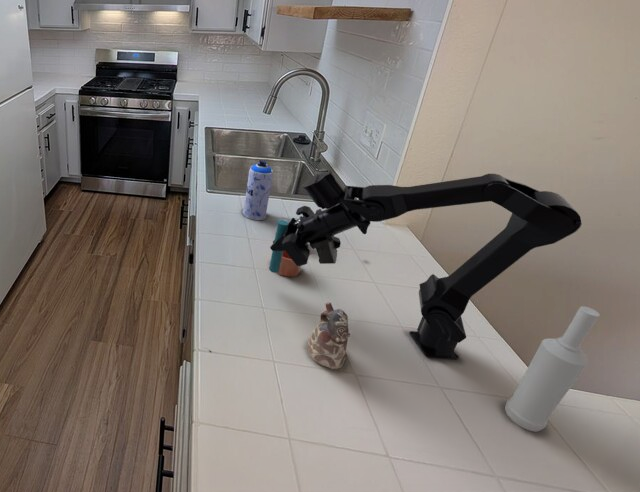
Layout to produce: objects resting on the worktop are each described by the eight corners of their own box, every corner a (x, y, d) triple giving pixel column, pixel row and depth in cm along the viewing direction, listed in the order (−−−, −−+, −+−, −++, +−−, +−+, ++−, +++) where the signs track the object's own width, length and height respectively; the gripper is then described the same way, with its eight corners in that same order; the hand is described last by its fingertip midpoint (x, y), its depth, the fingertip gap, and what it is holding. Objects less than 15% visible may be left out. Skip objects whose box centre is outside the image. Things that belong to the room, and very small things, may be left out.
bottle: (502, 398, 72) (562, 294, 62) (541, 416, 69) (610, 309, 59) (504, 420, 68) (568, 312, 58) (545, 439, 65) (620, 329, 55)
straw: (280, 272, 96) (290, 225, 91) (270, 272, 96) (279, 224, 91) (277, 266, 98) (286, 220, 93) (268, 266, 98) (276, 219, 93)
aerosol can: (238, 209, 136) (246, 157, 128) (259, 207, 137) (267, 156, 129) (249, 221, 129) (257, 166, 121) (270, 219, 130) (280, 165, 122)
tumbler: (302, 277, 103) (306, 260, 101) (275, 276, 103) (279, 259, 101) (294, 260, 109) (297, 244, 107) (268, 259, 110) (271, 243, 108)
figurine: (323, 372, 76) (336, 327, 72) (299, 344, 83) (310, 300, 78) (352, 364, 78) (367, 319, 74) (327, 337, 85) (339, 294, 80)
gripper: (349, 275, 78) (284, 295, 88) (357, 230, 92) (300, 252, 102) (315, 231, 78) (254, 256, 88) (327, 193, 93) (274, 218, 103)
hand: (272, 246), depth 95 cm, fingers closed on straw, 2 cm apart
